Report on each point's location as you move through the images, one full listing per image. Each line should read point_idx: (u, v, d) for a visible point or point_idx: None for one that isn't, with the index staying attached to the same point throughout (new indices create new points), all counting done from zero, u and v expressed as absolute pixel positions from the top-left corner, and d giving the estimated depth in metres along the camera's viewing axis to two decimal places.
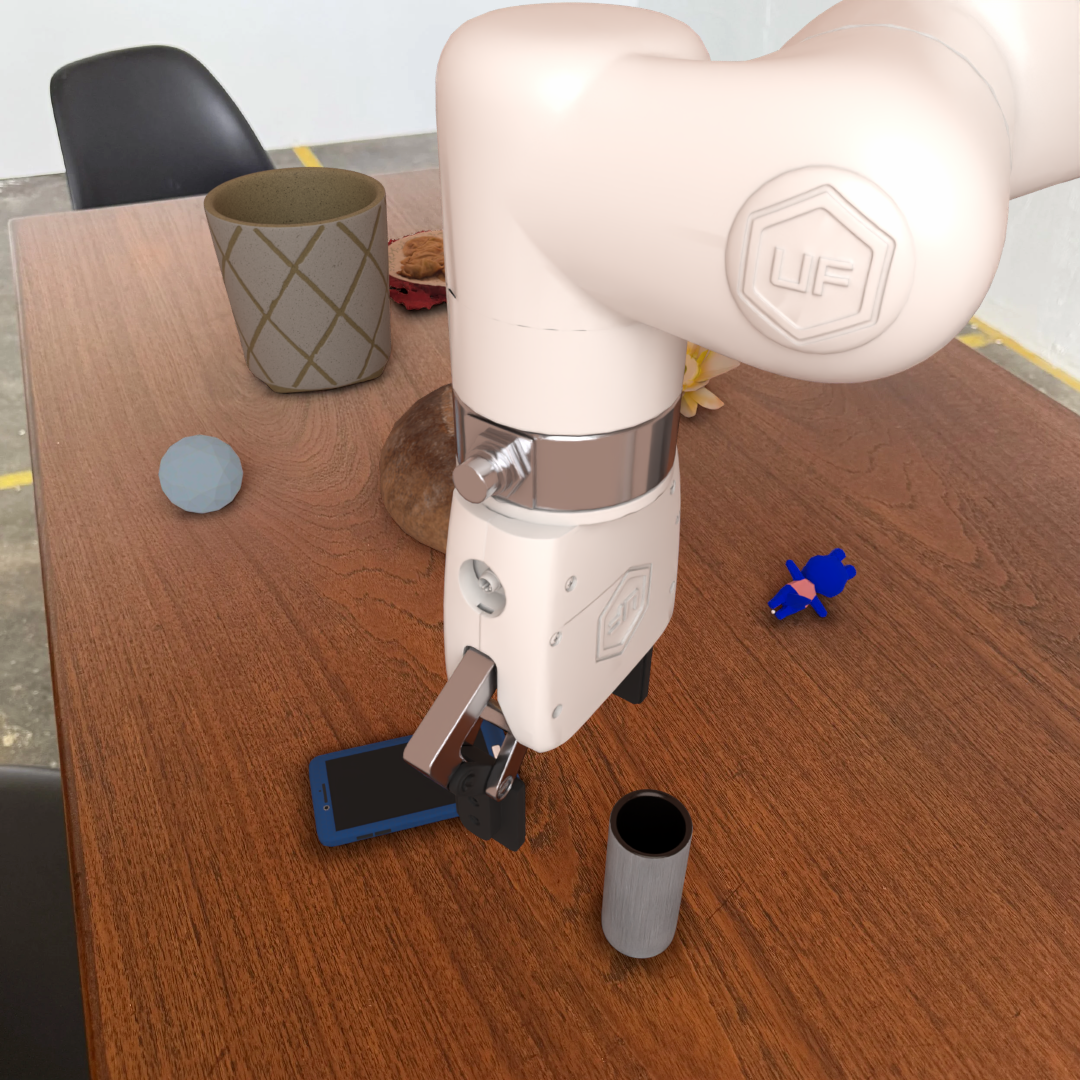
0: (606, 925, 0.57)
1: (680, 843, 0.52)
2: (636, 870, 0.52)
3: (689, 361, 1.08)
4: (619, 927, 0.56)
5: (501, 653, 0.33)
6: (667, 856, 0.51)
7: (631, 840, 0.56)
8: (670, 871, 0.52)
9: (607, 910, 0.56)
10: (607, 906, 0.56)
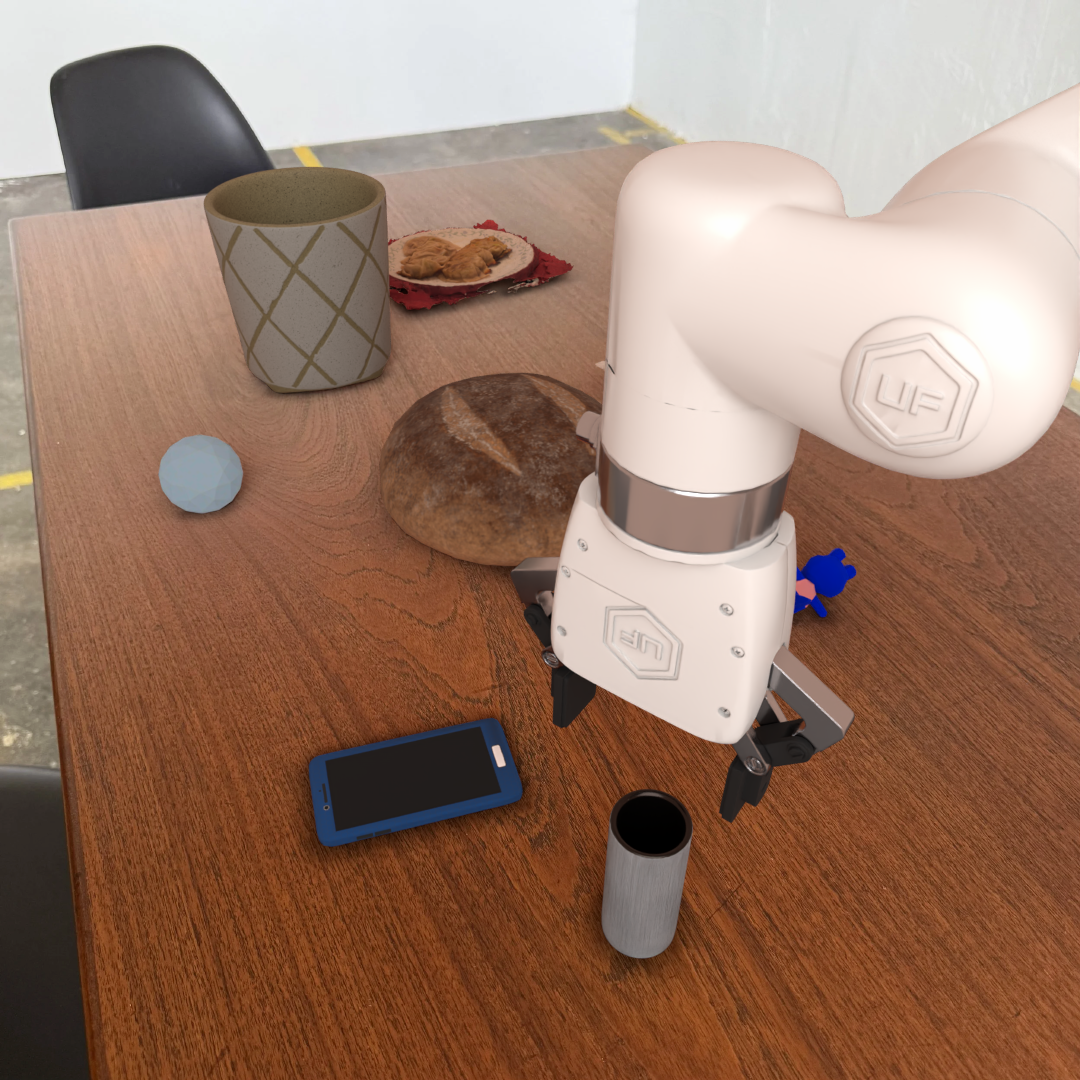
0: (606, 925, 0.57)
1: (680, 843, 0.52)
2: (636, 870, 0.52)
3: None
4: (619, 927, 0.56)
5: None
6: (667, 856, 0.51)
7: (631, 840, 0.56)
8: (670, 871, 0.52)
9: (607, 910, 0.56)
10: (607, 906, 0.56)
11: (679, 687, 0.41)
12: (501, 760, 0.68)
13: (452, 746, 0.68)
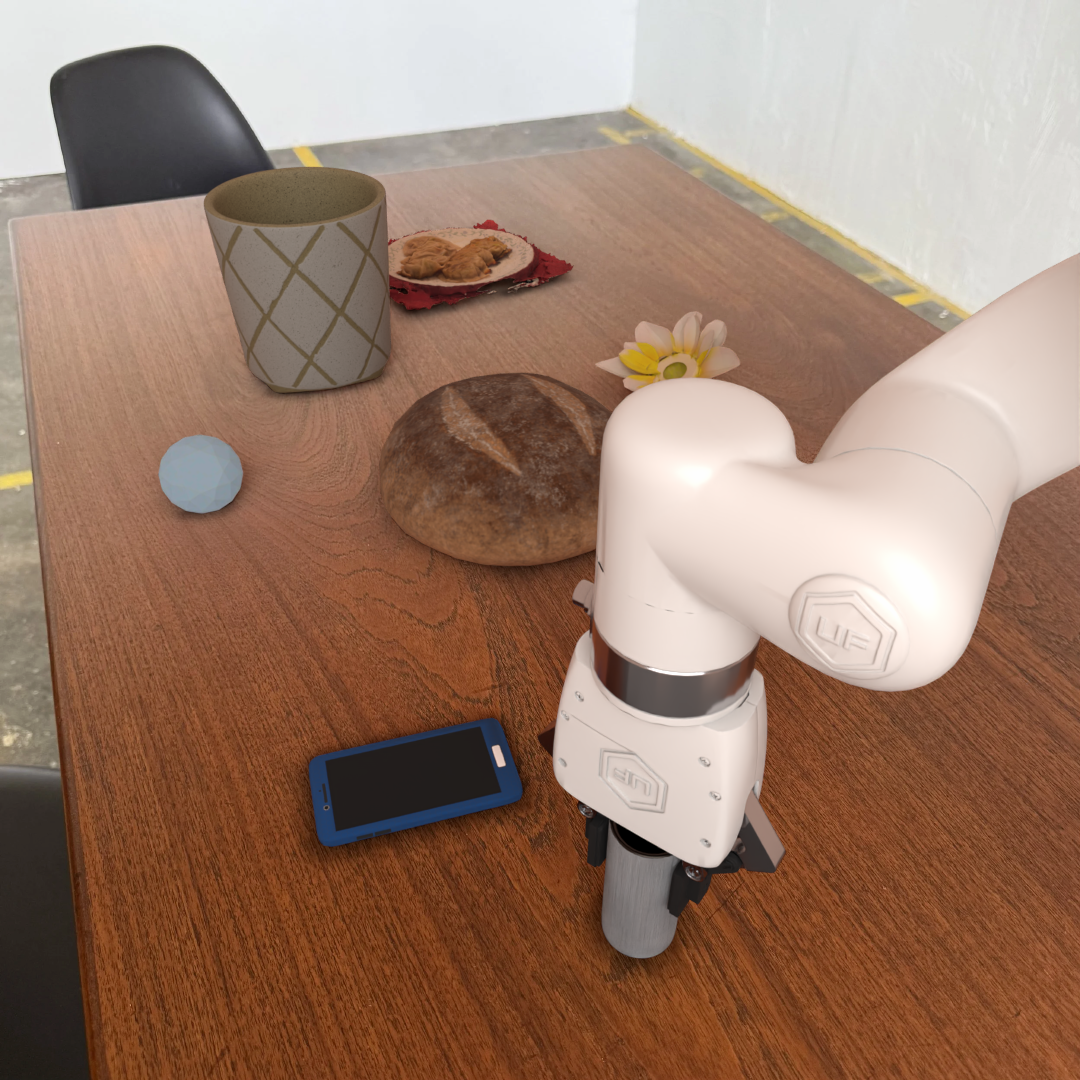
0: (606, 925, 0.57)
1: None
2: (636, 870, 0.52)
3: (689, 361, 1.08)
4: (619, 927, 0.56)
5: None
6: (667, 856, 0.51)
7: (631, 840, 0.56)
8: (670, 871, 0.52)
9: (607, 910, 0.56)
10: (607, 906, 0.56)
11: (666, 819, 0.47)
12: (501, 760, 0.68)
13: (452, 746, 0.68)
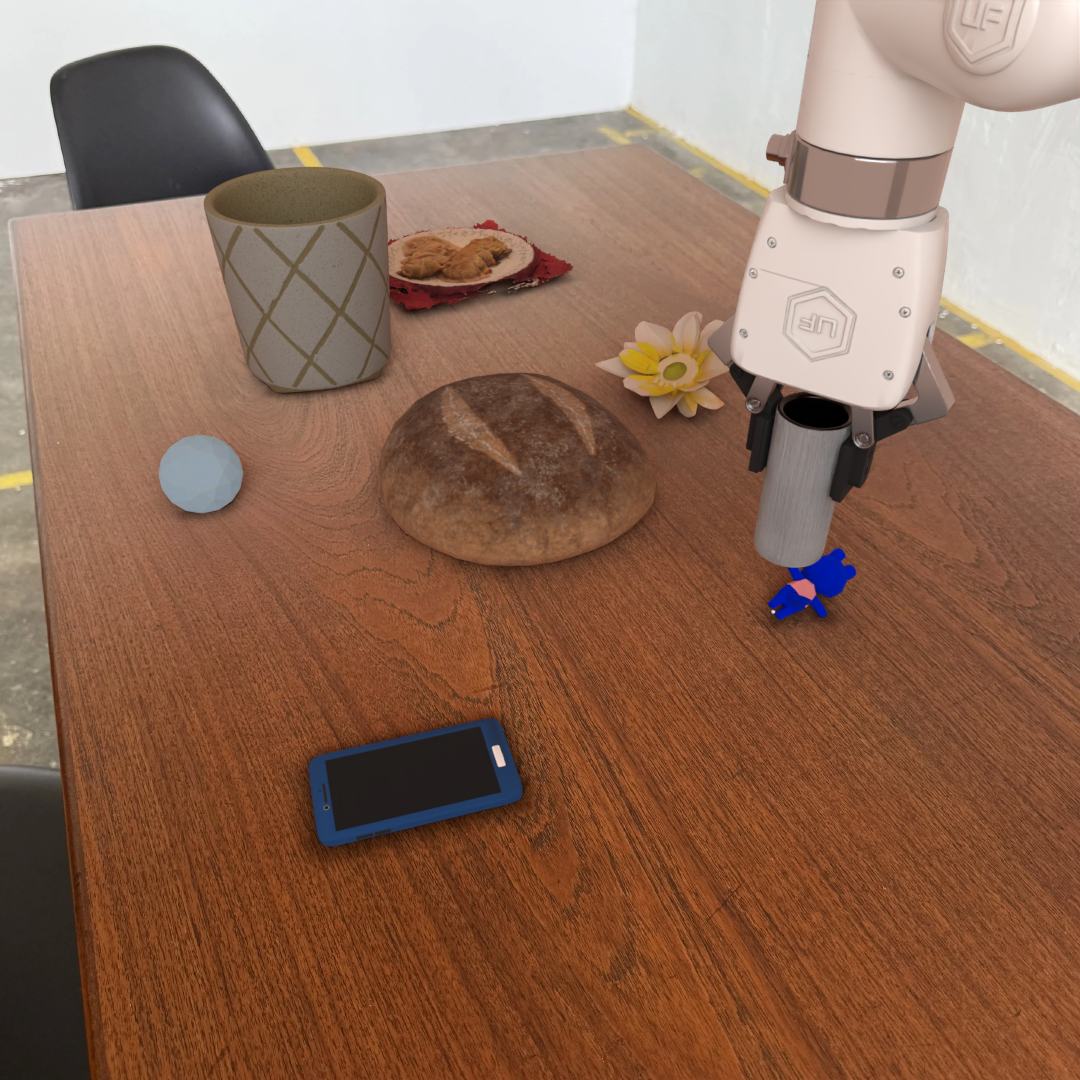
0: (762, 538, 0.61)
1: (846, 422, 0.56)
2: (804, 449, 0.56)
3: (690, 361, 1.08)
4: (778, 531, 0.60)
5: None
6: (836, 429, 0.55)
7: None
8: (836, 450, 0.56)
9: (765, 518, 0.60)
10: (765, 513, 0.60)
11: (849, 360, 0.51)
12: (501, 760, 0.68)
13: (452, 746, 0.68)
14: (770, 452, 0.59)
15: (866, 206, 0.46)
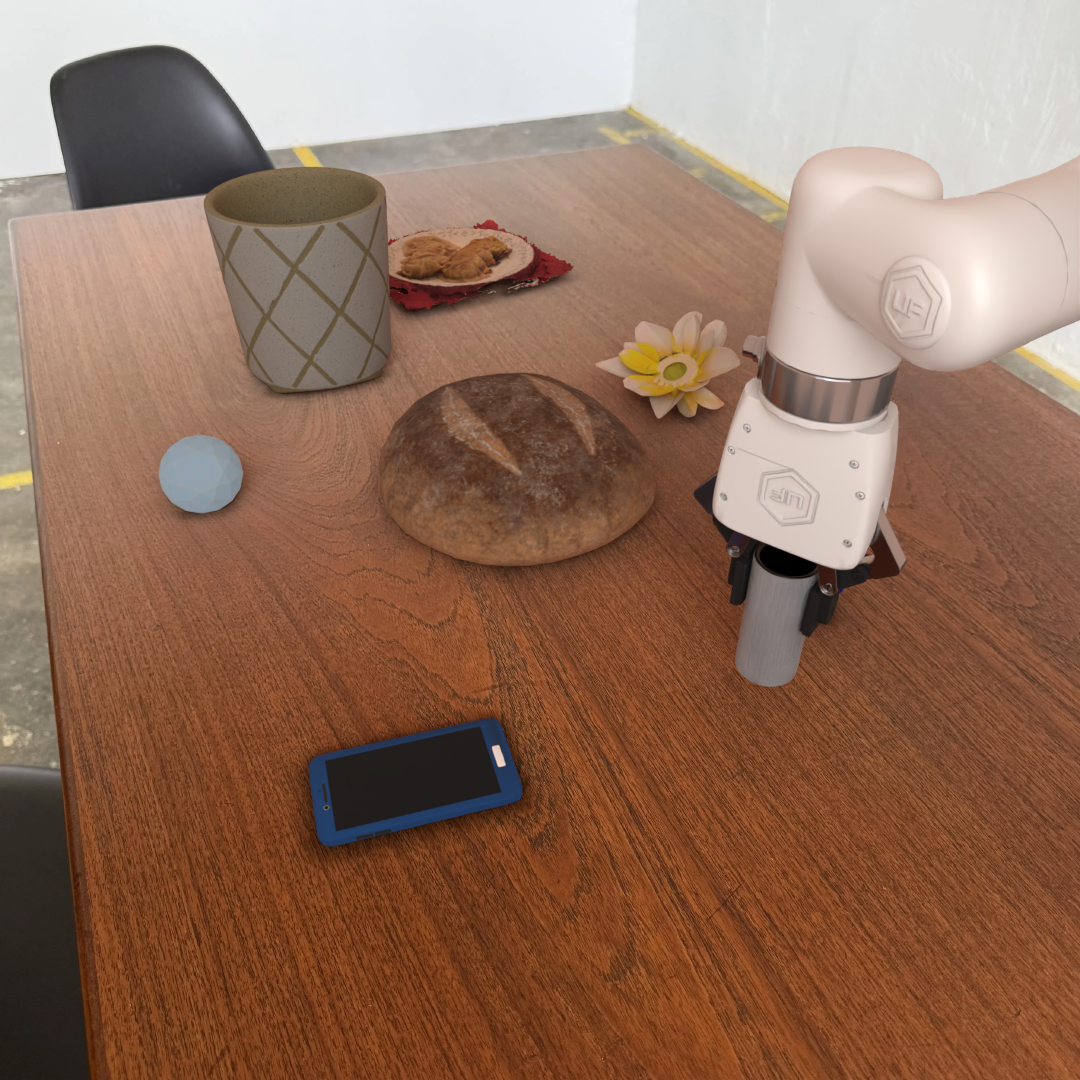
0: (742, 660, 0.69)
1: (814, 570, 0.64)
2: (777, 593, 0.64)
3: (689, 361, 1.08)
4: (755, 656, 0.68)
5: None
6: (804, 577, 0.63)
7: None
8: (805, 594, 0.64)
9: (744, 644, 0.68)
10: (745, 640, 0.68)
11: (814, 528, 0.59)
12: (501, 760, 0.68)
13: (452, 746, 0.68)
14: (748, 590, 0.66)
15: (825, 413, 0.54)
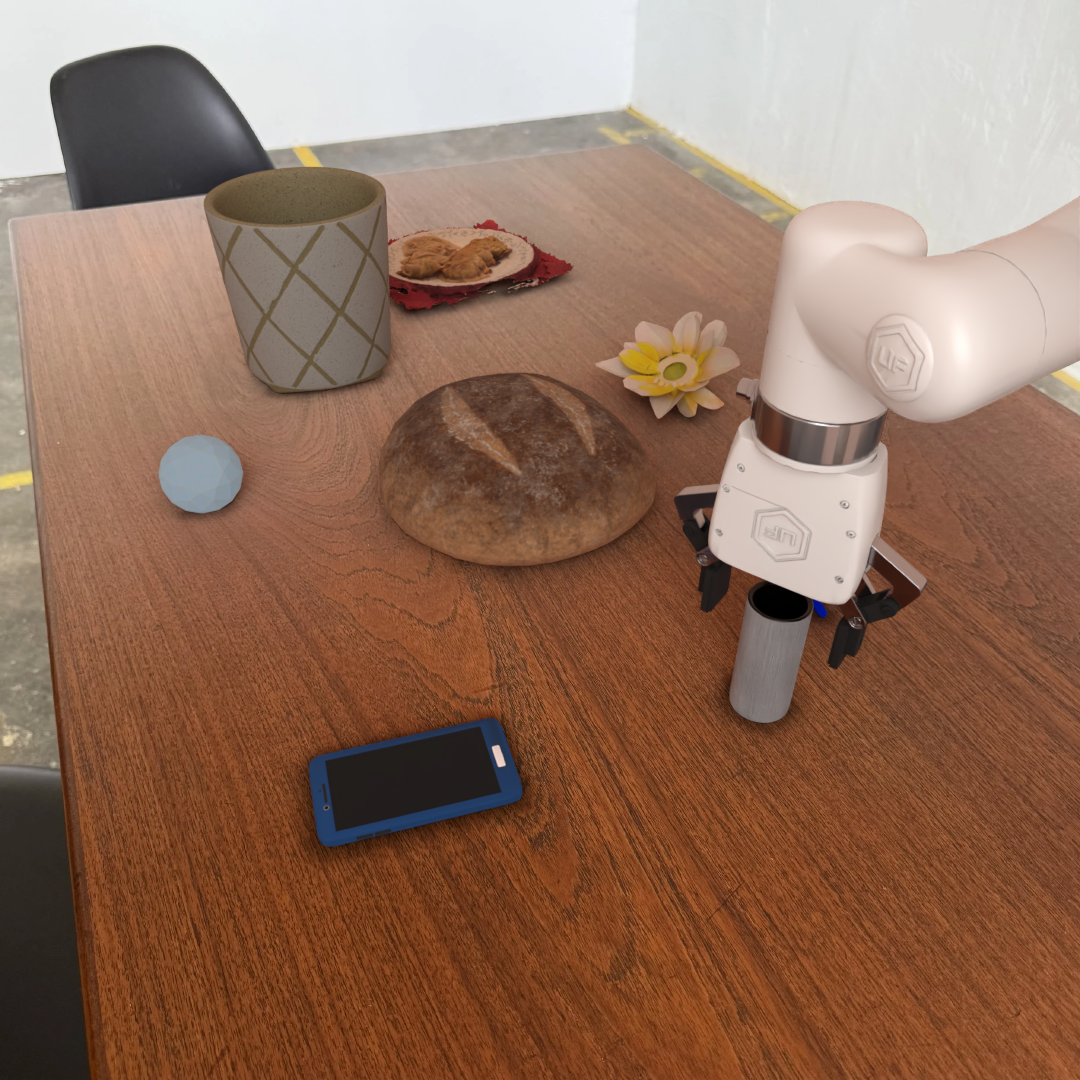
0: (736, 697, 0.72)
1: (805, 613, 0.66)
2: (770, 635, 0.66)
3: (689, 361, 1.08)
4: (749, 694, 0.70)
5: None
6: (796, 621, 0.65)
7: None
8: (796, 636, 0.66)
9: (738, 682, 0.71)
10: (739, 678, 0.70)
11: (806, 564, 0.60)
12: (501, 760, 0.68)
13: (452, 746, 0.68)
14: (742, 630, 0.69)
15: (816, 456, 0.55)
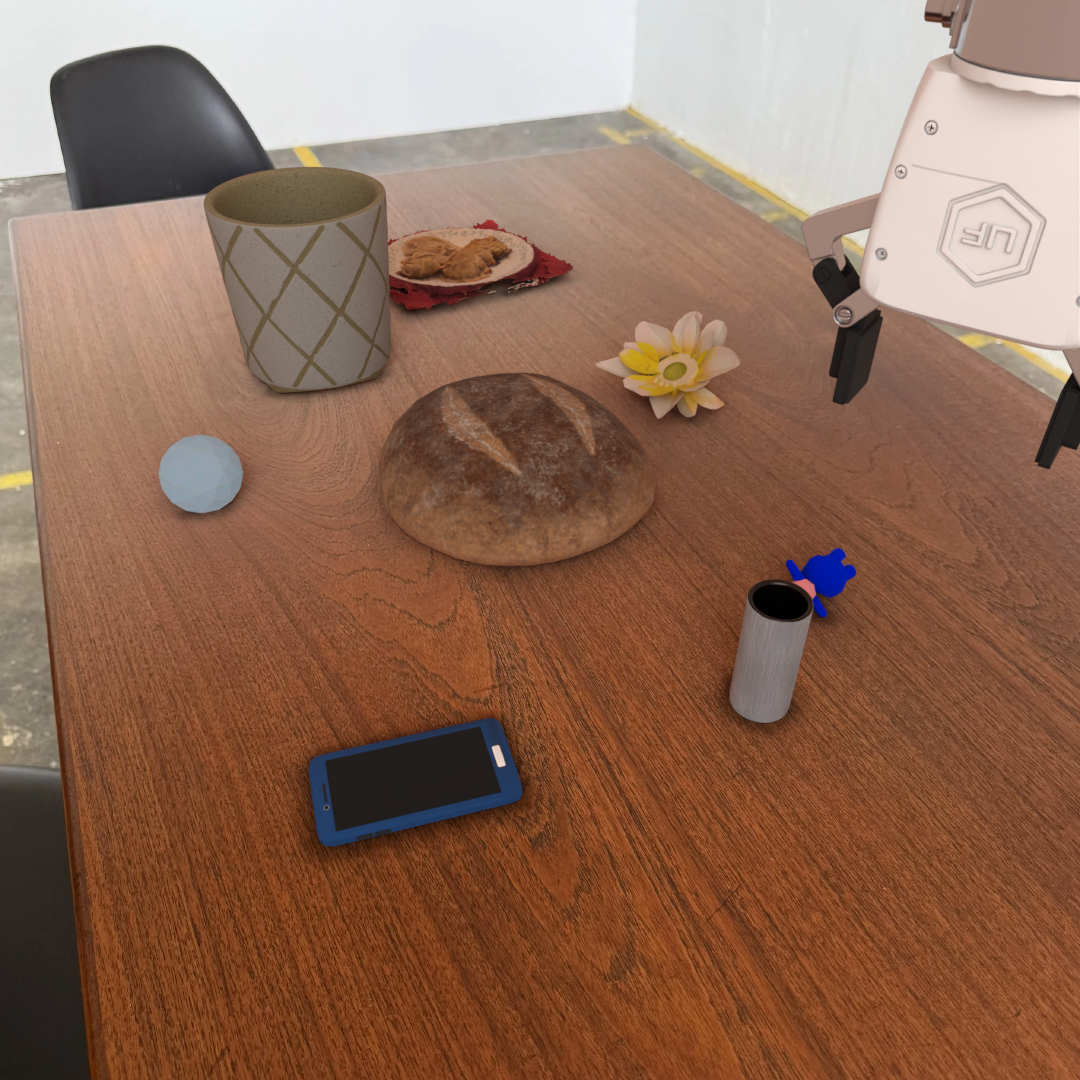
0: (736, 697, 0.72)
1: (805, 613, 0.66)
2: (770, 635, 0.66)
3: (689, 361, 1.08)
4: (749, 694, 0.70)
5: None
6: (796, 621, 0.65)
7: None
8: (796, 636, 0.66)
9: (738, 682, 0.71)
10: (739, 678, 0.70)
11: (1029, 283, 0.39)
12: (501, 760, 0.68)
13: (452, 746, 0.68)
14: (742, 630, 0.69)
15: None
